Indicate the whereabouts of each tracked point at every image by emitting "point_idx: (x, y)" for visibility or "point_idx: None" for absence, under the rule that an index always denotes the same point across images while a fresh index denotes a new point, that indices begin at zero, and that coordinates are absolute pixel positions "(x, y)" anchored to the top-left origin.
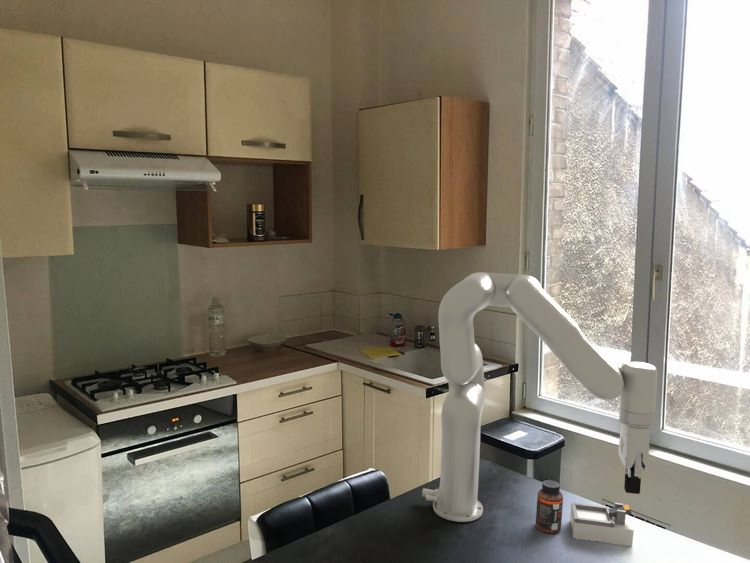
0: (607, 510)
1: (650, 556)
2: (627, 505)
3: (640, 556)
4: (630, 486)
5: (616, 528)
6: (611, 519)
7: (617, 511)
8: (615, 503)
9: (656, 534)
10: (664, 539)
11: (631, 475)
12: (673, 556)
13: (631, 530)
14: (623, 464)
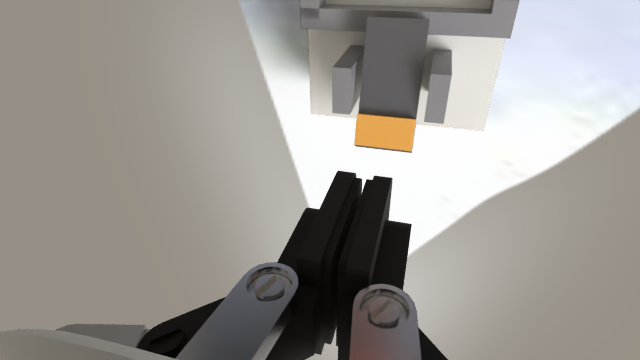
0: (456, 16)
1: (283, 131)
2: (400, 143)
3: (272, 97)
4: (299, 226)
5: (309, 35)
6: (342, 19)
7: (335, 66)
8: (437, 78)
9: (441, 199)
10: (408, 211)
11: (215, 304)
12: (306, 198)
13: (311, 104)
14: (51, 353)
